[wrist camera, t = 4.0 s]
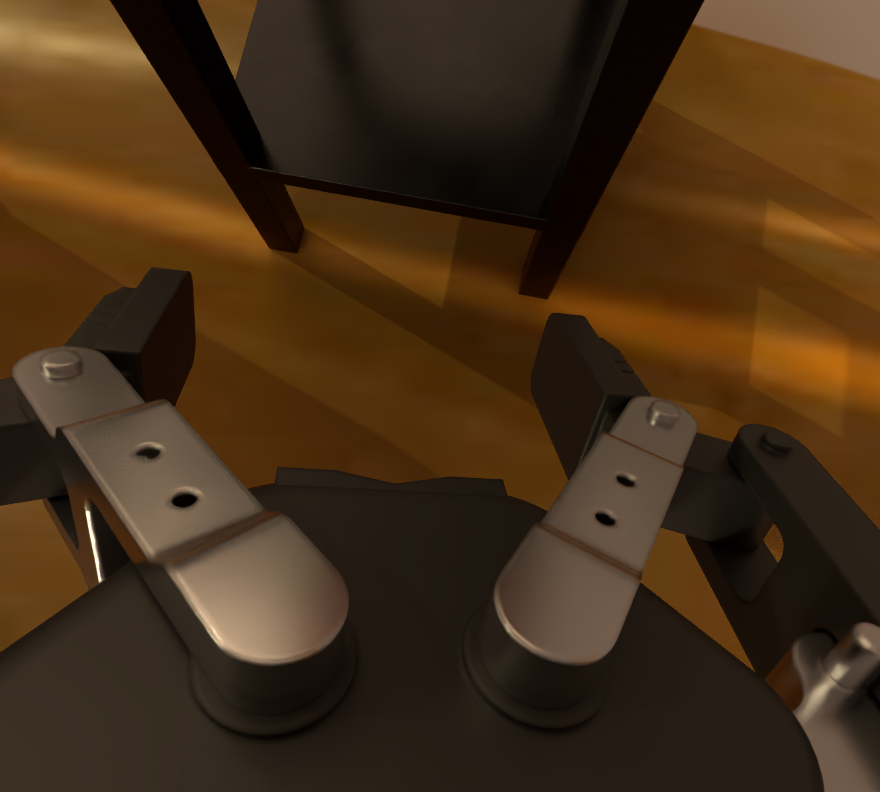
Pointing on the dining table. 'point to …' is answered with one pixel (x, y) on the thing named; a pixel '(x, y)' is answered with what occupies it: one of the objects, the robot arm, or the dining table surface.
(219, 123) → the stand
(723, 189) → the dining table surface
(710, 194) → the dining table surface
